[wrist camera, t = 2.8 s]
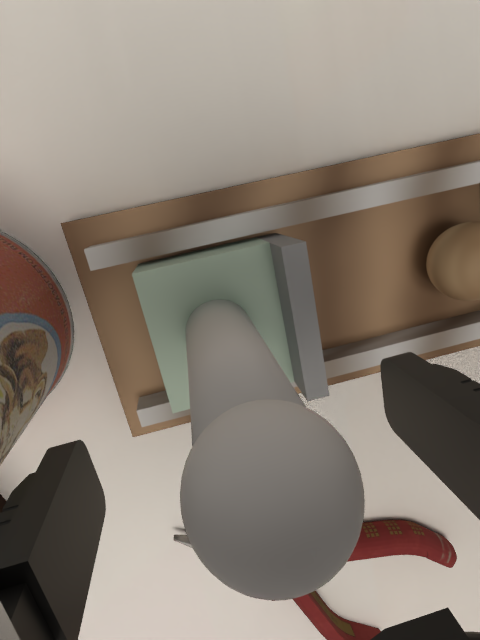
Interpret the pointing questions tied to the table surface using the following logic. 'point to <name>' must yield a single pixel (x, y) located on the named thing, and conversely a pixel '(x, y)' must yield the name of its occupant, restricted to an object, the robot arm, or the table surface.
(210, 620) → the table surface
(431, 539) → the pliers
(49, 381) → the canned food
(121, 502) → the table surface
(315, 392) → the grey post on base
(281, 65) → the table surface
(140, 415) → the base
